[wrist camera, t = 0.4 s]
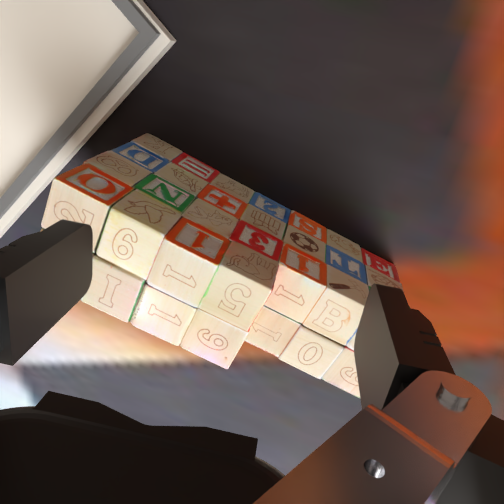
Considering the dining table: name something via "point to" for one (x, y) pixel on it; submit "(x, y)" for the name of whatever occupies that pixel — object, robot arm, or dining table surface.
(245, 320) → the stack of blocks
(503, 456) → the robot arm
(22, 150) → the base board
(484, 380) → the dining table surface
